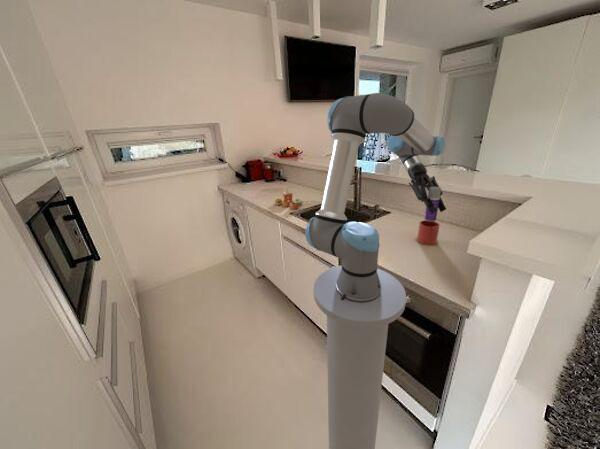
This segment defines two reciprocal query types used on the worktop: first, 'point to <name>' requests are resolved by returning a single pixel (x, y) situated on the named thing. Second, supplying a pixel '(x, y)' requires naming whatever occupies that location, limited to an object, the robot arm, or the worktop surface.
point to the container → (434, 196)
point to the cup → (428, 232)
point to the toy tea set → (288, 200)
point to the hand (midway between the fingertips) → (438, 211)
